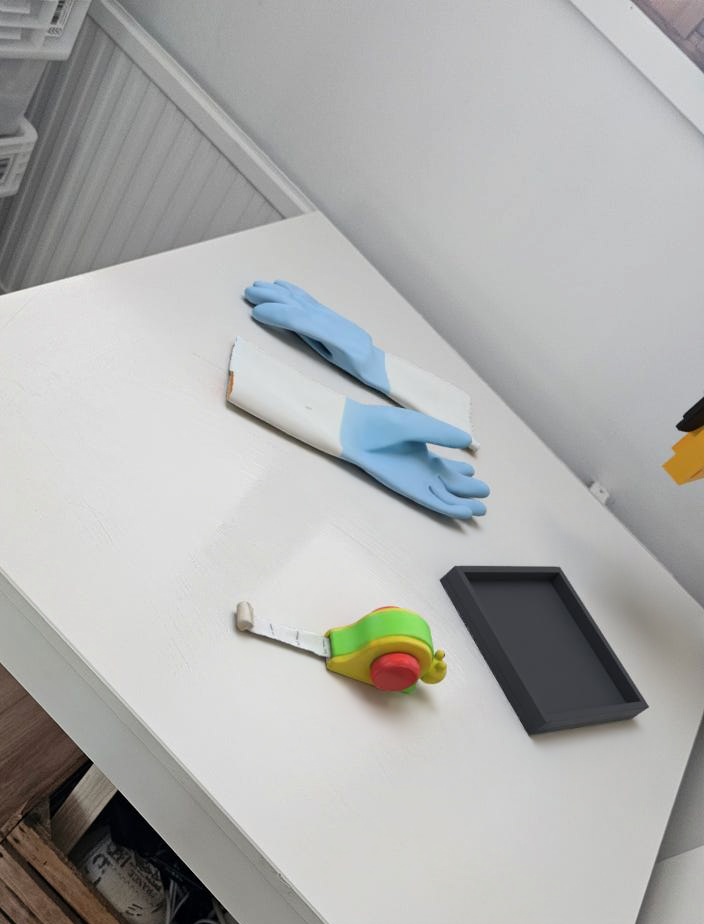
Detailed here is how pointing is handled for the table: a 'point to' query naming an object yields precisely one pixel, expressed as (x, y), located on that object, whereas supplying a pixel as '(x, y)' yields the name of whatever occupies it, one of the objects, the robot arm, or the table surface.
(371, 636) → the toy measuring tape
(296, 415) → the rubber gloves
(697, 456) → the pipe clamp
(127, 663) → the table surface
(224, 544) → the table surface
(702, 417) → the robot arm
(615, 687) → the dark grey tray
